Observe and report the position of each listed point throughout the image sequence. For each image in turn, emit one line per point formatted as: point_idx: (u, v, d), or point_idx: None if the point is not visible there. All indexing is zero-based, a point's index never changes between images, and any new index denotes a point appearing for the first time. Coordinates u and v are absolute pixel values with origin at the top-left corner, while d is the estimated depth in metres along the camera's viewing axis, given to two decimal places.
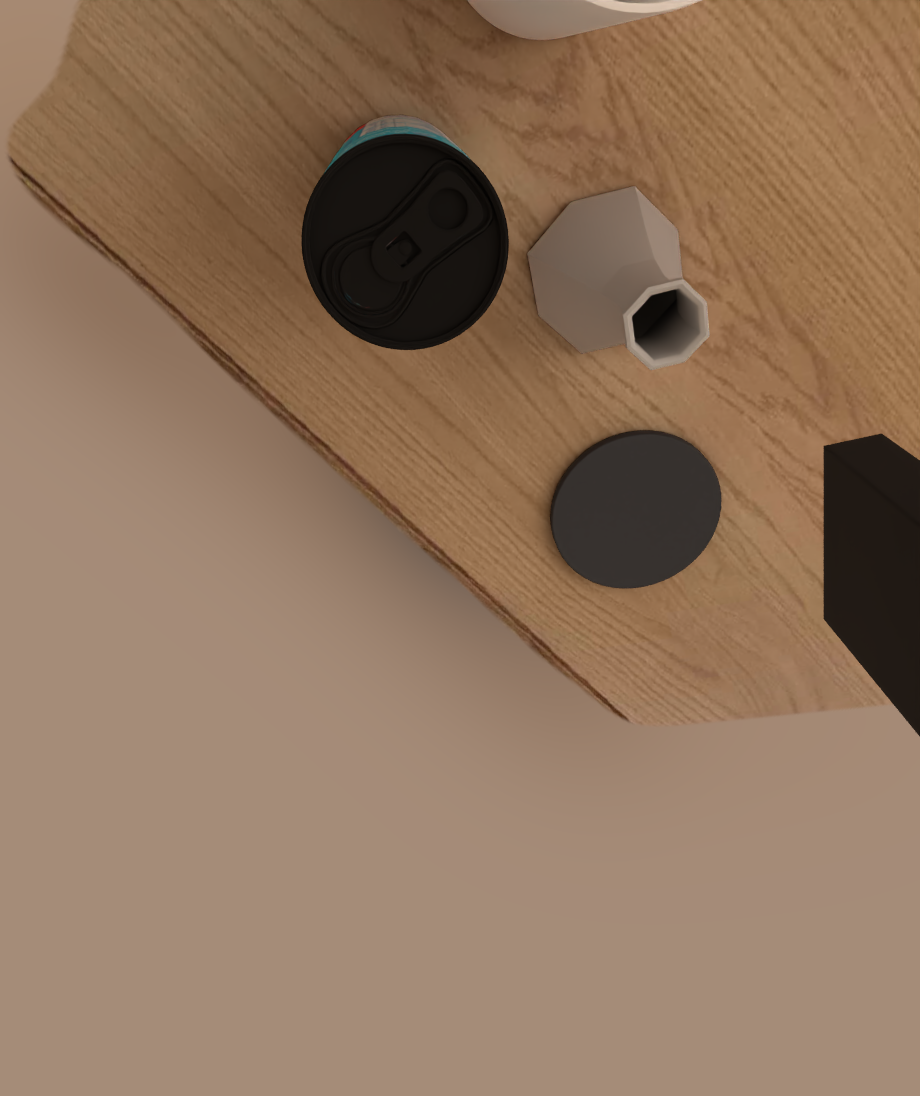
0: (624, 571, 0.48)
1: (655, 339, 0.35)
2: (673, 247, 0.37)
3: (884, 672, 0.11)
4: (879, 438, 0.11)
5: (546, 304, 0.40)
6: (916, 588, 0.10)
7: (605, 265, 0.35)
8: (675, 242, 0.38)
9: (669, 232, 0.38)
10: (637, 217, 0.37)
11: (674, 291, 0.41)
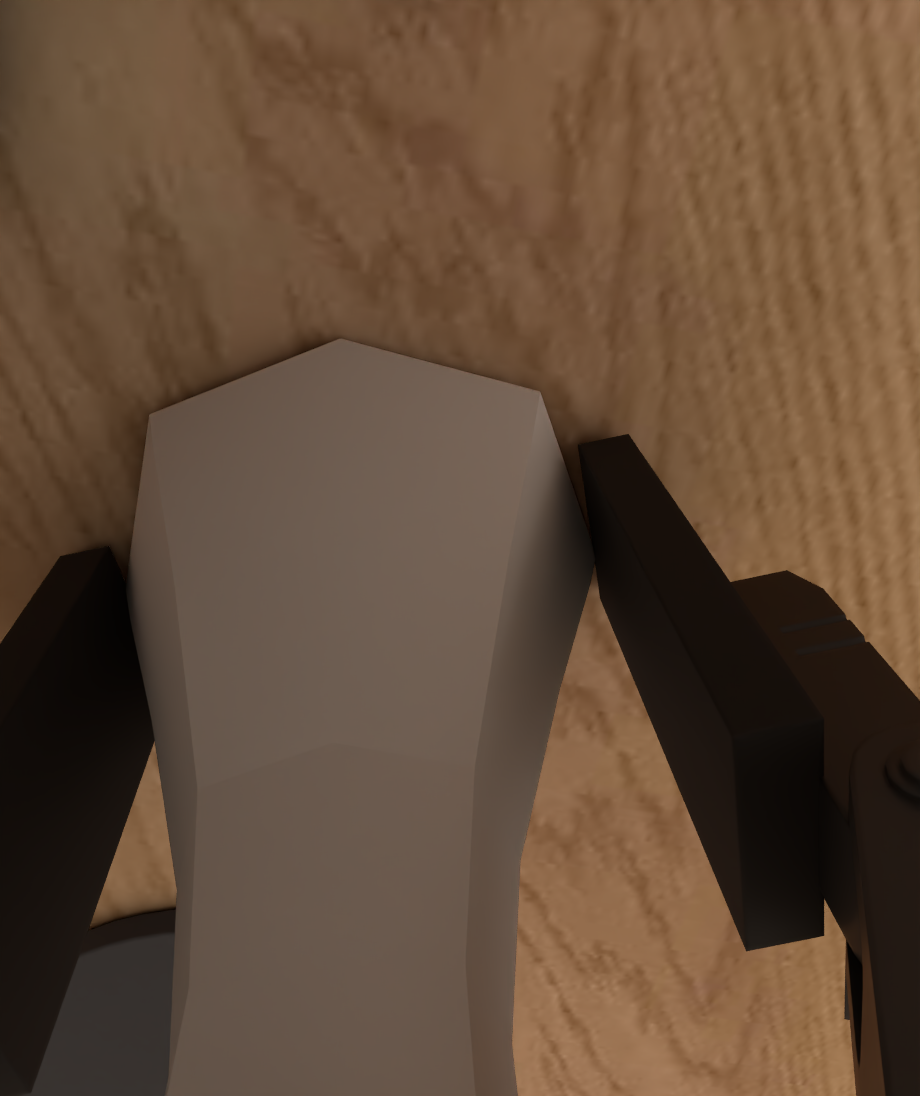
0: None
1: None
2: (564, 643, 0.11)
3: (622, 642, 0.12)
4: (623, 438, 0.13)
5: (136, 589, 0.12)
6: (620, 567, 0.11)
7: (289, 672, 0.08)
8: (576, 616, 0.12)
9: (573, 575, 0.12)
10: (498, 510, 0.10)
11: None
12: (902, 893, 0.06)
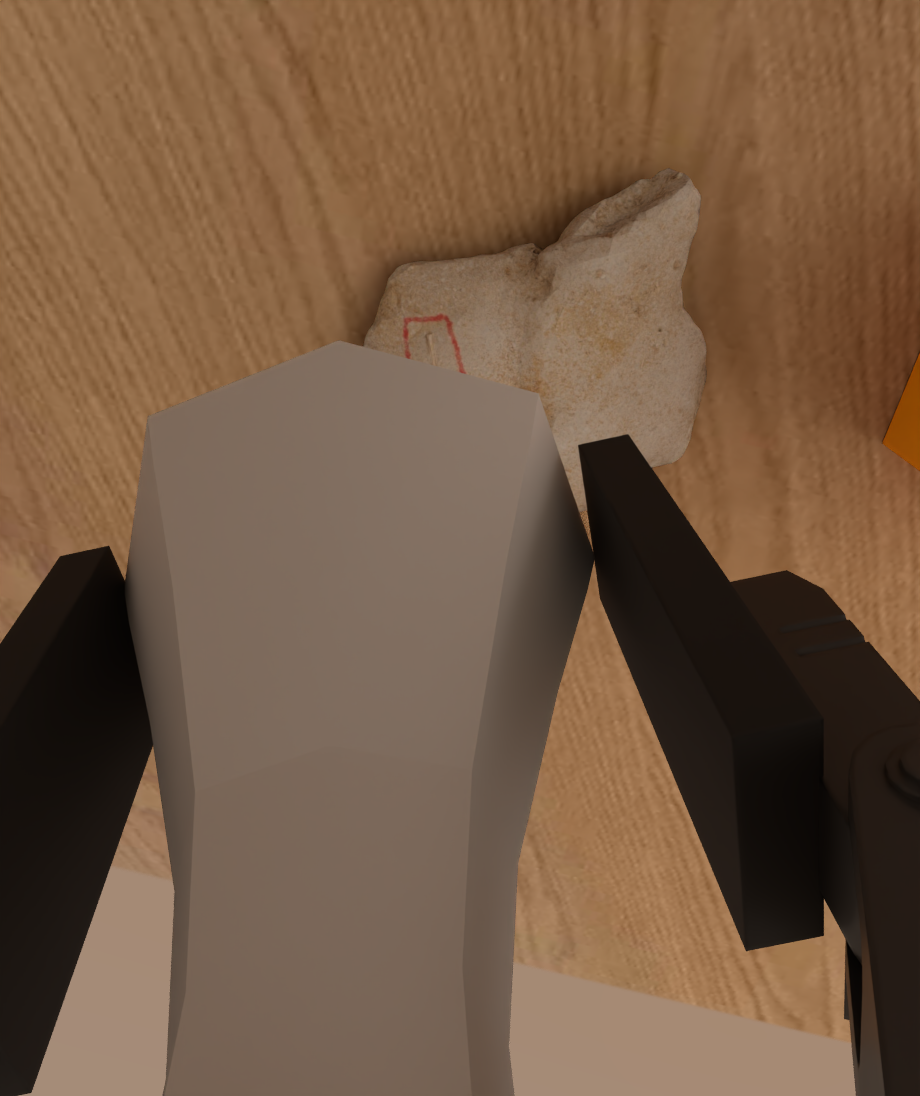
0: None
1: None
2: (562, 645, 0.11)
3: (623, 642, 0.12)
4: (623, 438, 0.13)
5: (134, 591, 0.12)
6: (620, 567, 0.11)
7: (287, 675, 0.08)
8: (574, 617, 0.12)
9: (571, 577, 0.12)
10: (496, 512, 0.10)
11: None
12: (901, 893, 0.06)
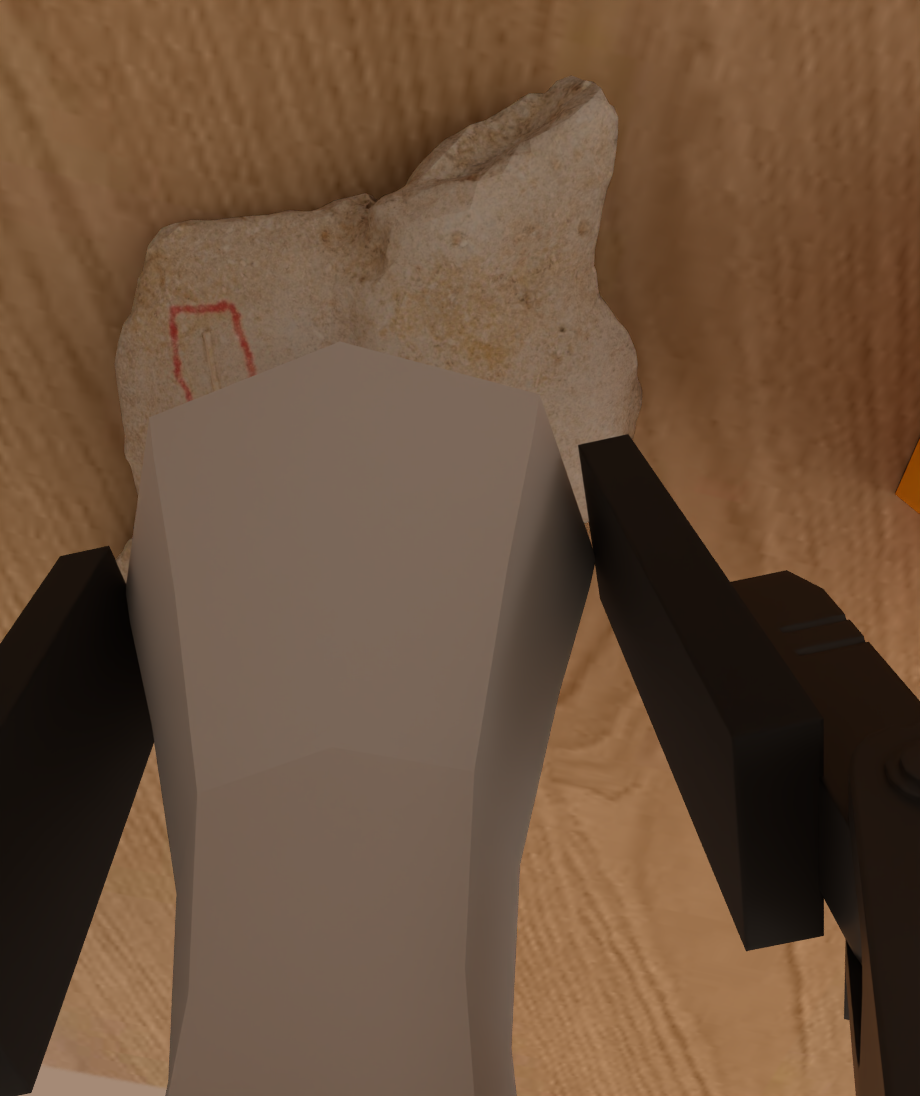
0: None
1: None
2: (564, 646, 0.11)
3: (623, 642, 0.12)
4: (623, 438, 0.13)
5: (135, 592, 0.12)
6: (620, 566, 0.11)
7: (289, 676, 0.08)
8: (576, 618, 0.12)
9: (572, 578, 0.12)
10: (499, 514, 0.10)
11: None
12: (901, 893, 0.06)
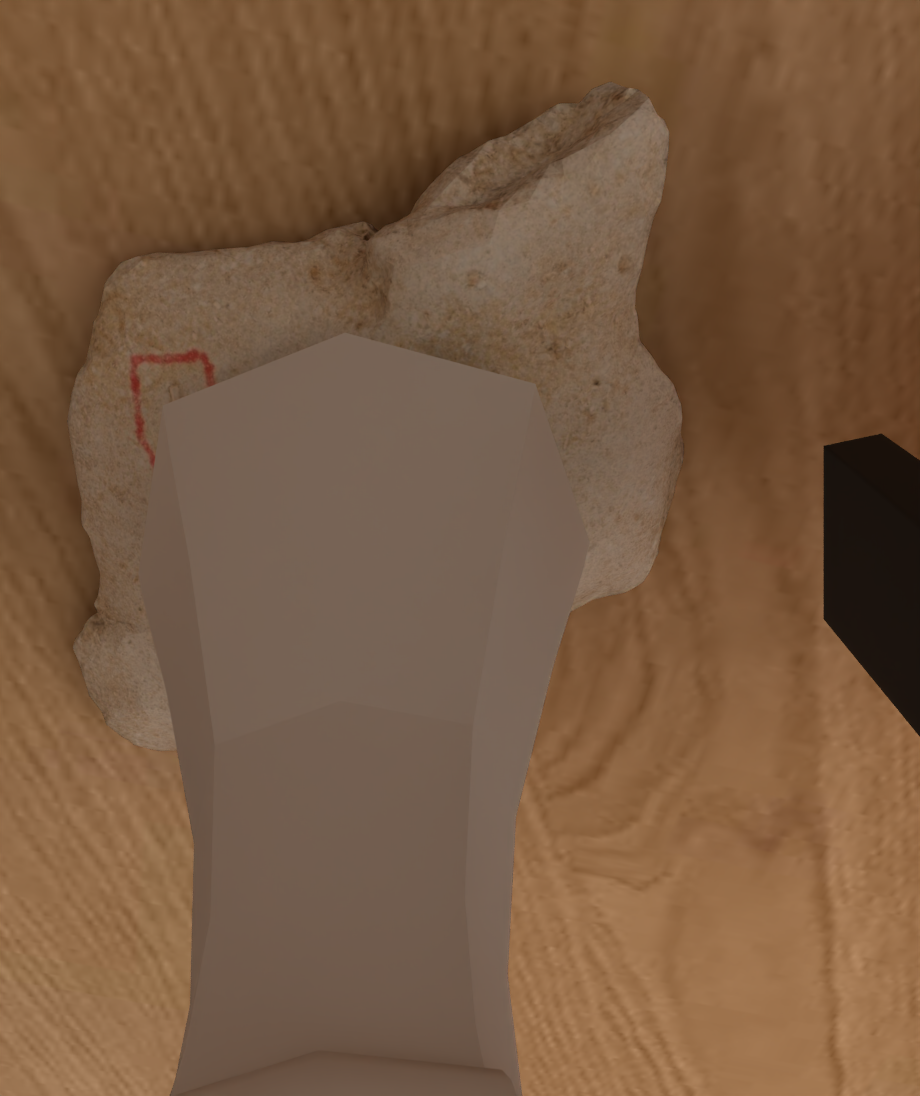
0: None
1: None
2: (558, 621, 0.12)
3: (885, 673, 0.11)
4: (879, 438, 0.11)
5: (149, 572, 0.13)
6: (916, 588, 0.10)
7: (299, 639, 0.09)
8: (570, 597, 0.13)
9: (567, 558, 0.13)
10: (495, 494, 0.11)
11: None
12: None
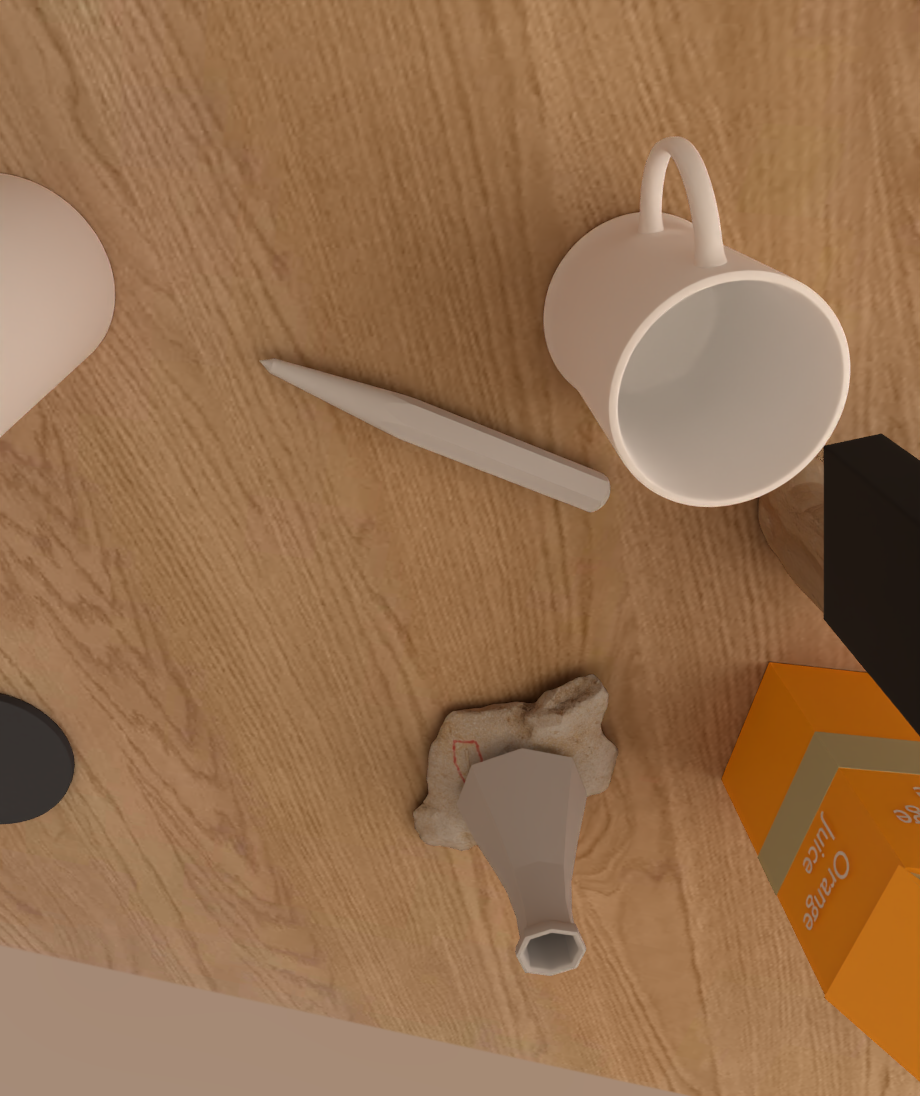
0: None
1: None
2: (578, 827, 0.46)
3: (884, 672, 0.11)
4: (879, 438, 0.11)
5: (467, 810, 0.47)
6: (916, 588, 0.10)
7: (526, 845, 0.43)
8: (581, 817, 0.47)
9: (580, 806, 0.47)
10: (563, 800, 0.45)
11: None
12: None
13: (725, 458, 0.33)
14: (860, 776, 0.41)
